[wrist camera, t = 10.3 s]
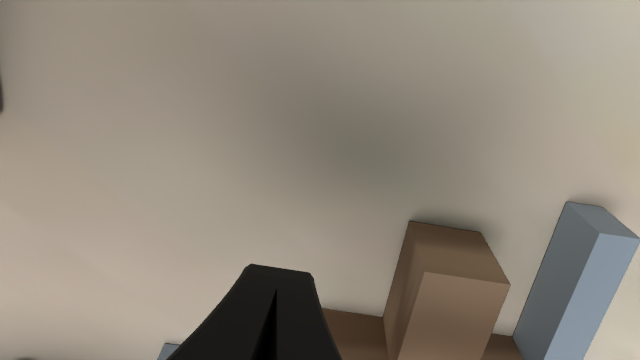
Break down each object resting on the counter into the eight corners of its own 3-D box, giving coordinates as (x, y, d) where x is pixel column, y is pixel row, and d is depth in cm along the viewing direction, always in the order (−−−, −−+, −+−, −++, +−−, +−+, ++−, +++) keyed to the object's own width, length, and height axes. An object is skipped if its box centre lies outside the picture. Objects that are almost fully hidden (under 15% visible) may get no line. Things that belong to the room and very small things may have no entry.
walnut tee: (336, 209, 19) (337, 258, 16) (551, 243, 19) (595, 297, 16) (306, 357, 22) (302, 422, 19) (491, 384, 22) (518, 452, 19)
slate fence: (164, 367, 22) (144, 411, 20) (168, 143, 18) (144, 166, 16) (513, 413, 23) (533, 461, 21) (603, 207, 18) (641, 239, 16)
